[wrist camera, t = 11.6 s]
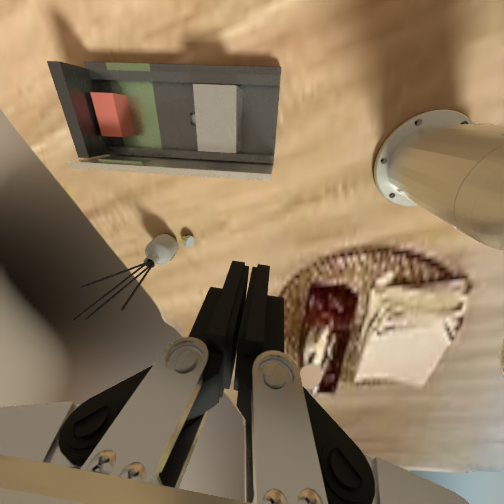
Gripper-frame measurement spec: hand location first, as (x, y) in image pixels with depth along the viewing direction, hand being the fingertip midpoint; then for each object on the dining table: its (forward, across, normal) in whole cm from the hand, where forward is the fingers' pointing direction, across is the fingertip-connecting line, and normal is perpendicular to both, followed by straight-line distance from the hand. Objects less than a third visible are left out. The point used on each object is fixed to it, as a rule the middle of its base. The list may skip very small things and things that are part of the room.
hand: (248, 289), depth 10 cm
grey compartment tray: (+29, +13, -6) cm, 32 cm away
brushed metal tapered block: (+28, +8, -6) cm, 29 cm away
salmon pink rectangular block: (+28, +23, -5) cm, 36 cm away
